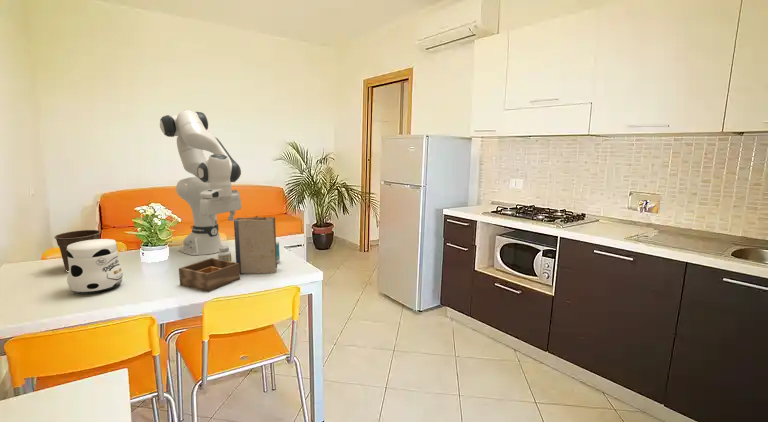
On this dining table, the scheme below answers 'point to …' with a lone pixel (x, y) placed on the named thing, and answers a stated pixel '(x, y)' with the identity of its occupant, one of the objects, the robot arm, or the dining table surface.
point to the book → (255, 244)
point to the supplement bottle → (224, 254)
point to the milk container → (93, 266)
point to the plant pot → (74, 241)
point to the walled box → (209, 274)
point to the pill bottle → (277, 251)
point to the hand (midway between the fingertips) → (222, 222)
